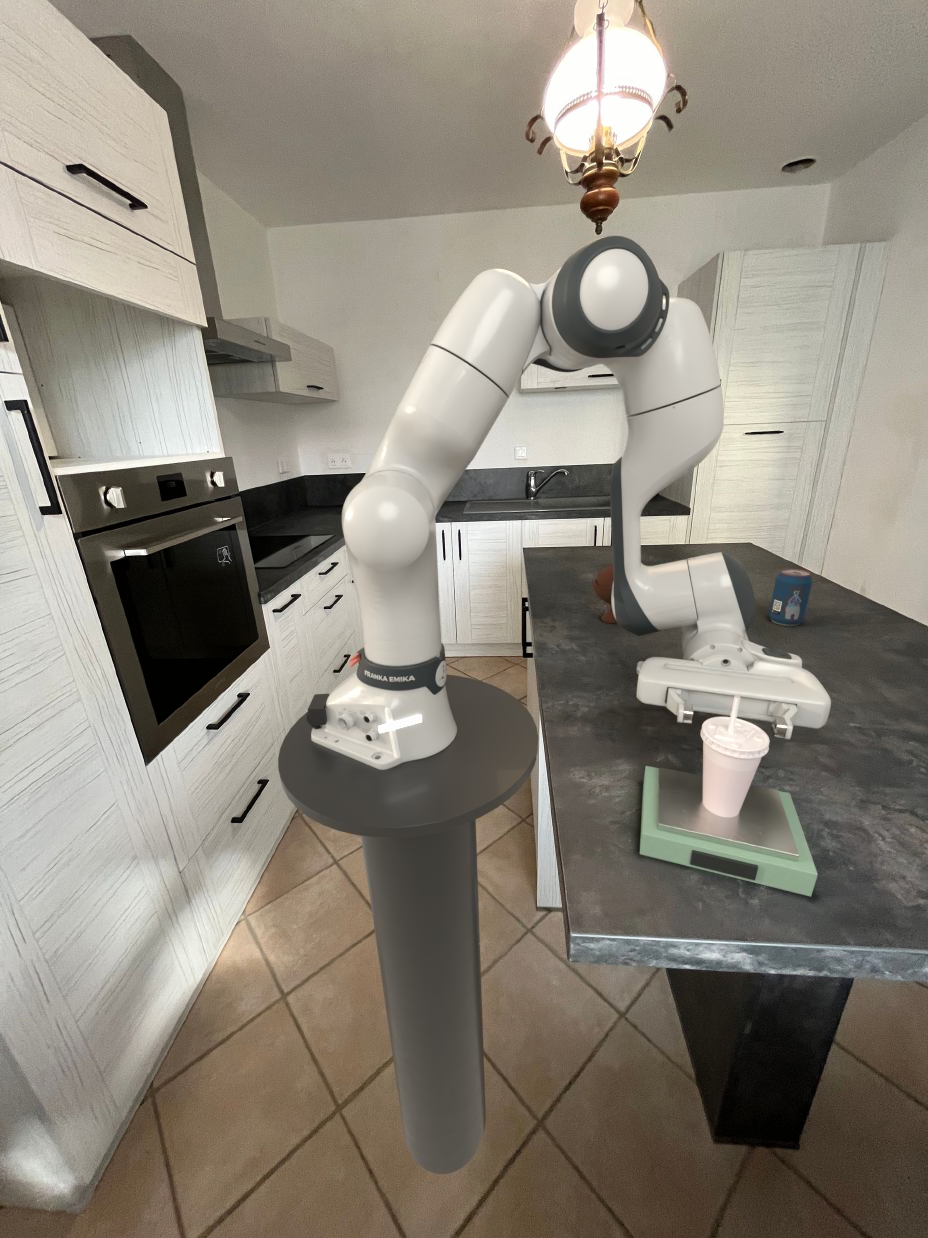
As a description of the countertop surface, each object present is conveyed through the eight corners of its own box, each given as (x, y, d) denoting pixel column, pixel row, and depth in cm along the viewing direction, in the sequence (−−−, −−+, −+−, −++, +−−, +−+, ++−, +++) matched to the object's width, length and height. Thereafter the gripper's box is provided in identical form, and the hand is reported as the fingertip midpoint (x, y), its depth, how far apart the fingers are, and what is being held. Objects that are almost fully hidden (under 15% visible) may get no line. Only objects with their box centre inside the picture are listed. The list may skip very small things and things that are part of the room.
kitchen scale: (639, 856, 53) (642, 835, 52) (643, 784, 64) (645, 765, 63) (812, 900, 48) (819, 877, 47) (784, 812, 58) (789, 792, 57)
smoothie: (677, 791, 57) (694, 685, 52) (726, 782, 58) (746, 678, 53) (714, 832, 51) (737, 717, 46) (767, 821, 52) (795, 708, 47)
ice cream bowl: (610, 608, 126) (615, 551, 121) (646, 621, 117) (652, 560, 112) (580, 617, 121) (583, 558, 116) (615, 631, 112) (620, 567, 107)
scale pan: (657, 829, 53) (658, 824, 52) (658, 772, 61) (658, 767, 61) (797, 862, 48) (799, 855, 48) (777, 795, 57) (778, 789, 57)
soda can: (783, 614, 118) (794, 566, 113) (810, 624, 111) (822, 574, 107) (760, 618, 116) (770, 569, 112) (785, 628, 110) (797, 577, 105)
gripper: (639, 638, 67) (634, 685, 55) (814, 657, 60) (852, 715, 48) (635, 679, 69) (629, 733, 57) (804, 701, 62) (837, 768, 50)
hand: (732, 725), depth 52 cm, fingers open, 8 cm apart
